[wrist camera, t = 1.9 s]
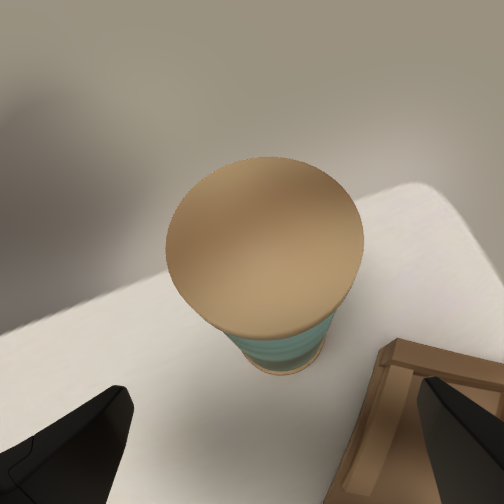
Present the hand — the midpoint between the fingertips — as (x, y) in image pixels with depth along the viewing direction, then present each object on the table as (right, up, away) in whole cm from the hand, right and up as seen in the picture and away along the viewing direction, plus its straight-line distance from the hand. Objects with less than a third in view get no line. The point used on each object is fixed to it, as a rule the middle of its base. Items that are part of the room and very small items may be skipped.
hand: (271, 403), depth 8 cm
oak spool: (+1, -1, +12) cm, 12 cm away
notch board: (+11, -8, +7) cm, 15 cm away
